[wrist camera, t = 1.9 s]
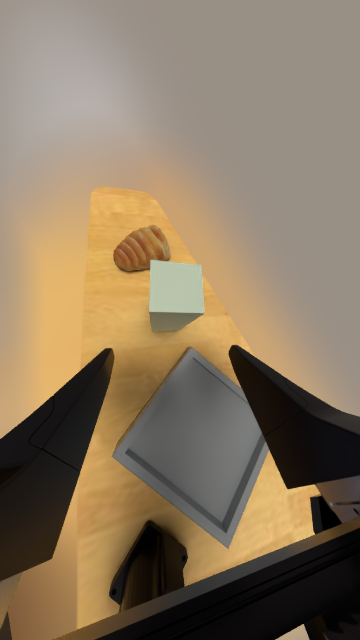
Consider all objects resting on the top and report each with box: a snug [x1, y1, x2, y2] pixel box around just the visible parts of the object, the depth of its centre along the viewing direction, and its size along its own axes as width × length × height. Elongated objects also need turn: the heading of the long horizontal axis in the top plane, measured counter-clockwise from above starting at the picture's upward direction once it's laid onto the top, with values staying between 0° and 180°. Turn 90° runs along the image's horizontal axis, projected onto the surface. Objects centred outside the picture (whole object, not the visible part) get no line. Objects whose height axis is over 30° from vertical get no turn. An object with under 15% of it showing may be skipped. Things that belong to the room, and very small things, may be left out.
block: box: [149, 260, 205, 332], centre depth 16 cm, size 4×4×12 cm
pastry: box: [114, 225, 171, 271], centre depth 21 cm, size 9×7×4 cm
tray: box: [112, 347, 269, 548], centre depth 18 cm, size 16×18×2 cm
